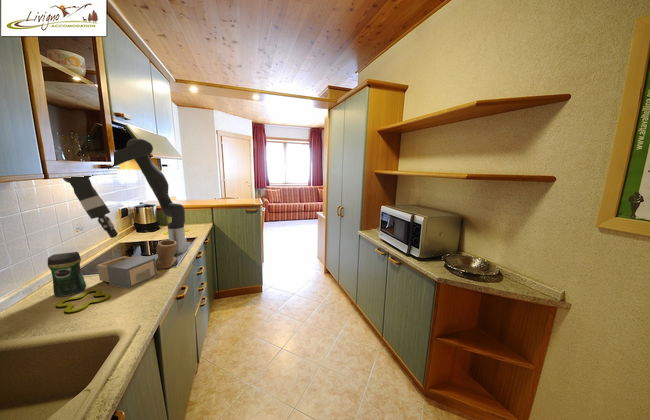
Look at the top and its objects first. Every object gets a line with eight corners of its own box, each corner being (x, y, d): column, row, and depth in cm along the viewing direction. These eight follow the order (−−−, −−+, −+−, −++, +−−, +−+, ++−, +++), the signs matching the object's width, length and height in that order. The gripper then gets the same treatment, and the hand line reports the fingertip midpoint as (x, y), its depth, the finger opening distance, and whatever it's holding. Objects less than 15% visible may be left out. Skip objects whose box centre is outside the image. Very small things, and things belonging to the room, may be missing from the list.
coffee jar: (89, 285, 110) (82, 249, 106) (82, 293, 103) (74, 254, 100) (60, 290, 105) (52, 252, 102) (50, 299, 98) (42, 258, 95)
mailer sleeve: (139, 272, 124) (136, 255, 122) (157, 275, 121) (155, 257, 119) (110, 285, 110) (106, 266, 108) (129, 288, 108) (126, 269, 106)
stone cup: (175, 269, 129) (172, 243, 127) (150, 271, 126) (147, 245, 123) (182, 259, 143) (180, 236, 141) (160, 260, 140) (157, 237, 137)
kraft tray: (125, 270, 124) (123, 256, 123) (155, 274, 120) (153, 260, 118) (99, 280, 113) (97, 265, 111) (131, 285, 108) (129, 270, 107)
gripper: (103, 203, 106) (123, 234, 111) (106, 204, 117) (124, 231, 122) (82, 210, 102) (103, 241, 107) (88, 210, 113) (107, 238, 118)
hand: (115, 236), depth 114 cm, fingers open, 8 cm apart
